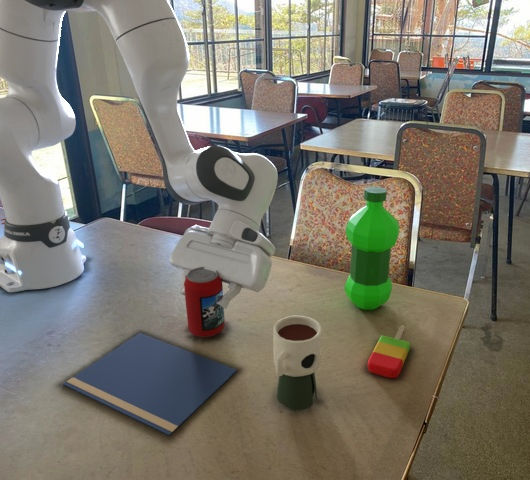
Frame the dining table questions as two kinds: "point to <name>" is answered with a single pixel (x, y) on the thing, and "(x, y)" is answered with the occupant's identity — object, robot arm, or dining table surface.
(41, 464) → the dining table surface
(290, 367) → the character mug
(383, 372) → the popsicle
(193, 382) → the blue book
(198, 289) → the beverage can
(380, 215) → the plastic bottle
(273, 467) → the dining table surface
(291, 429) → the dining table surface
